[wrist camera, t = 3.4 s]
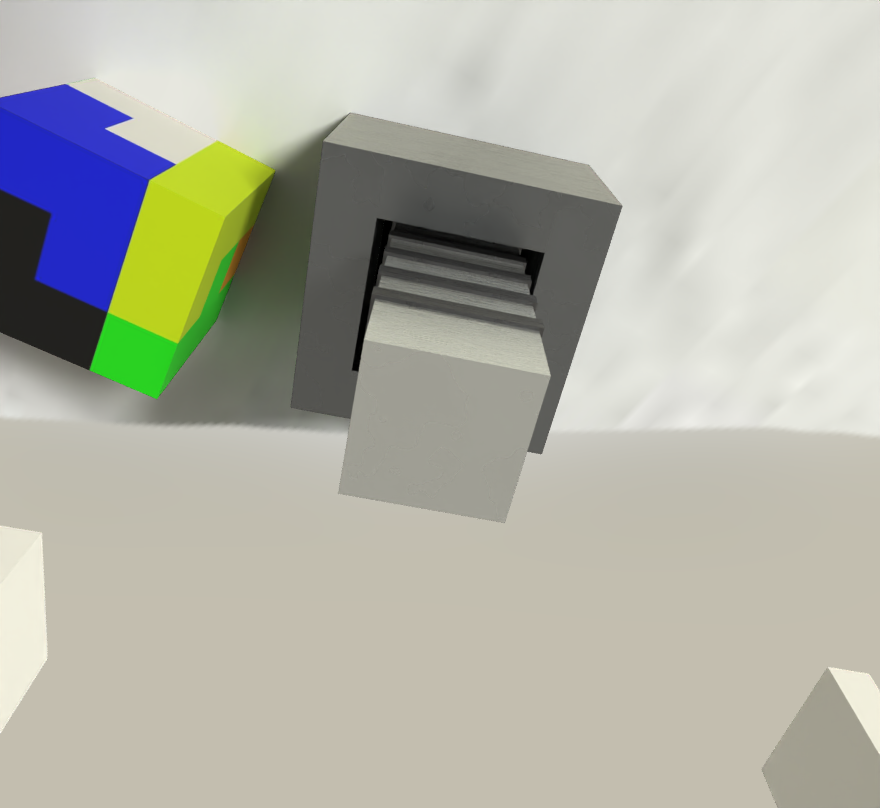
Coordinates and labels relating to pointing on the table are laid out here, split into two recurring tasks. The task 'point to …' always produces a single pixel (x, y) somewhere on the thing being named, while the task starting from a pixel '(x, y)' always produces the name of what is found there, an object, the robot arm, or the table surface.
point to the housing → (453, 211)
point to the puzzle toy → (117, 230)
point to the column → (446, 376)
